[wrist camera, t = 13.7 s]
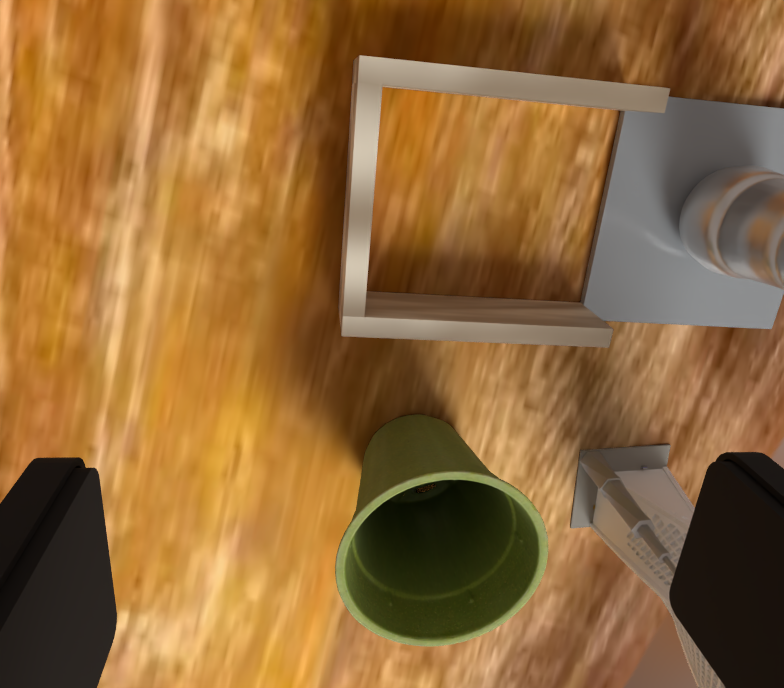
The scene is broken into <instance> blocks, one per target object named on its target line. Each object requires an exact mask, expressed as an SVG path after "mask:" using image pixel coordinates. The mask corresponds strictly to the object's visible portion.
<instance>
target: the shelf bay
mask: <svg viewBox="0 0 784 688" xmlns="http://www.w3.org/2000/svg"><path fill="white" fill-rule="evenodd" d="M382 87H389V88H399V89H409V90H419V91H429V92H439V93H449V94H459V95H469V96H479V97H489V98H499V99H509V100H519V101H529V102H539V103H549V104H559V105H570V106H580V107H590V108H600V109H610V110H620V111H636V112H654V113H665V109H666V105H667V100H668V96H669V92H670V88H663V87H654V86H644V85H635V84H626V83H616V82H607V81H597V80H588V79H579V78H569V77H560V76H550V75H541V74H531V73H522V72H513V71H503V70H494V69H484V68H475V67H466V66H456V65H447V64H437V63H428V62H419V61H409V60H400V59H390V58H381V57H372V56H362V55H359V56H358V57H357V58H356V59H355V60H354V62H353V78H352V94H351V111H350V127H349V144H348V160H347V176H346V193H345V209H344V225H343V242H342V258H341V274H340V291H339V307H338V308H339V317H340V327H341V336H346V337H369V338H393V339H417V340H440V341H464V342H488V343H511V344H535V345H558V346H582V347H606V348H609V346H610V342H611V338H612V333H613V328H612V327H611V326H609V325H608V324H607V323H605V322H604V321H603V320H602V319H600V318H599V317H598V316H597V315H595V314H594V313H593V312H592V311H590V310H589V309H588V308H587V307H585V306H584V305H583V304H581V303H580V302H561V301H542V300H524V299H505V298H486V297H467V296H448V295H429V294H410V293H391V292H372V291H366V290H367V277H368V264H369V251H370V238H371V225H372V212H373V200H374V187H375V174H376V161H377V148H378V135H379V122H380V110H381V97H382Z"/></svg>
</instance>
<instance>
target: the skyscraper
mask: <svg viewBox="0 0 784 688" xmlns="http://www.w3.org/2000/svg"><path fill="white" fill-rule="evenodd" d="M670 446H671V445H670V444H664V445H649V446H634V447H619V448H604V449H589V450H580V454H579V462H578V470H577V478H576V485H575V493H574V501H573V509H572V516H571V524H570V528H581V527H591V528H592V529H593V530H594V531H595V532H596V533H597V535H598V536H599V537H600V538H601V539H602V540H603V541H604V542H605V543H606V544H607V545H608V546H609V547H610V548H611V549H612V550H613V552H614V553H615V554H616V555H617V556H618V557H619V558H620V559H621V560H622V561H623V562H624V563H625V564H626V565H627V566H628V567H629V568H630V569H631V570H632V571H633V572H634V573H635V574H636V575H637V576H638V577H639V578H640V579H641V580H642V581H643V582H644V583H645V584H646V585H648V586H649V587H650V588H651V589H652V590H653V591H654V592H655V593H656V594H657V595H658V596H659V597H660V598H661V599H662V601H663V602H664V604H665V606H666V607H667V609H668V611H669V612H670V614H671V615H672V618H673V620H674V623H675V627H676V630H677V633H678V636H679V639H680V642H681V645H682V648H683V651H684V654H685V657H686V660H687V662H688V665H689V667H690V670H691V672H692V675H693V677H694V680H695V682H696V685H697V687H698V688H725V686H724V685H723V683H722V682H721V680H720V679H719V677H718V676H717V675H716V673H715V672H714V670H713V669H712V667H711V666H710V664H709V663H708V662H707V660H706V659H705V657H704V656H703V654H702V653H701V651H700V650H699V649H698V647H697V646H696V644H695V643H694V641H693V640H692V638H691V637H690V636H689V634H688V633H687V631H686V630H685V628H684V627H683V625H682V624H681V623H680V621H679V620H678V618H677V617H676V615H675V614H674V612H673V610H672V607H671V604H670V599H669V591H670V586H671V583H672V580H673V577H674V573H675V570H676V567H677V564H678V561H679V557H680V554H681V551H682V548H683V545H684V542H685V538H686V535H687V532H688V529H689V526H690V522H691V519H692V516H693V513H694V510H695V508H694V506H693V505H692V503H691V502H690V500H689V499H688V497H687V496H686V494H685V493H684V491H683V490H682V488H681V487H680V485H679V484H678V482H677V481H676V479H675V478H674V476H673V475H672V473H671V472H670V470H669V469H668V467H667V461H668V456H669V451H670Z"/></svg>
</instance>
